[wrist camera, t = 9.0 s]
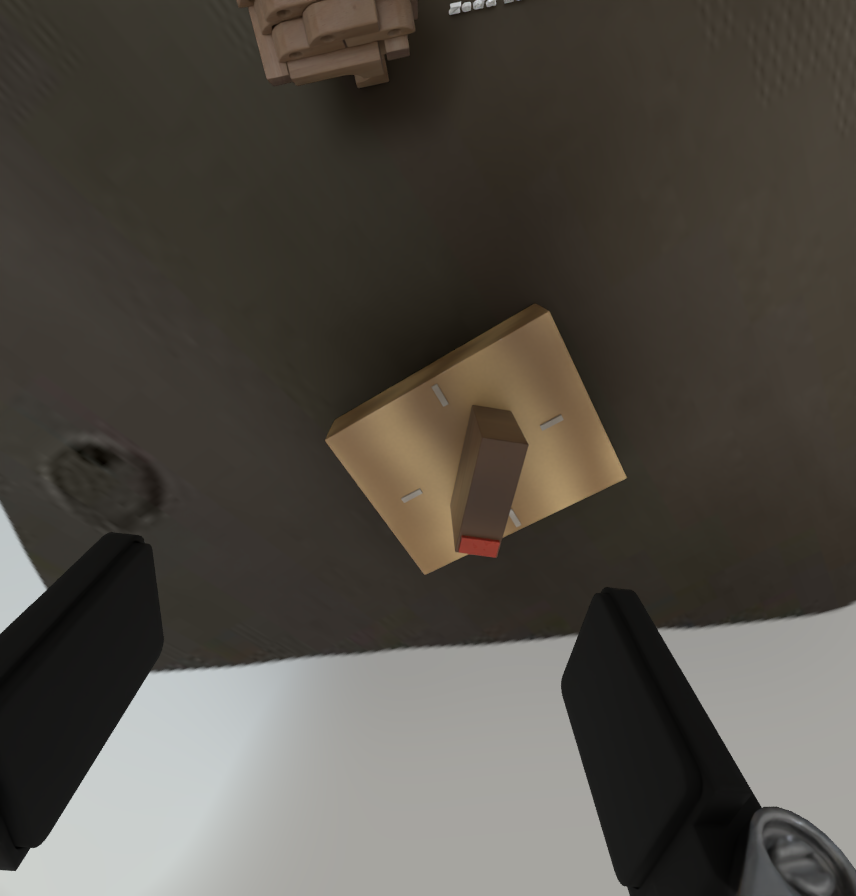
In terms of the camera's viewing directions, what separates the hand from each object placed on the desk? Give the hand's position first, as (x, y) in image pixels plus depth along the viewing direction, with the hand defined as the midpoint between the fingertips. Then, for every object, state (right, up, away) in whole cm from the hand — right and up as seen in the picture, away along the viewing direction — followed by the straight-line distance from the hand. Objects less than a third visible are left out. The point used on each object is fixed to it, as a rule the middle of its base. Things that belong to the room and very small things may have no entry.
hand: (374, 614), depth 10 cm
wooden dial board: (+4, +4, +22) cm, 23 cm away
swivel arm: (+4, +3, +19) cm, 20 cm away
